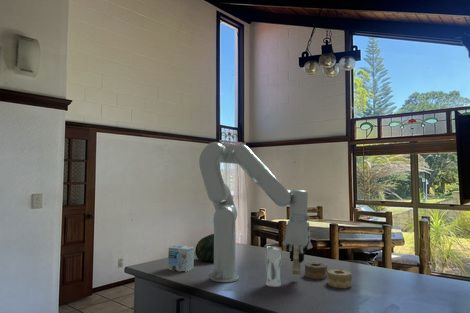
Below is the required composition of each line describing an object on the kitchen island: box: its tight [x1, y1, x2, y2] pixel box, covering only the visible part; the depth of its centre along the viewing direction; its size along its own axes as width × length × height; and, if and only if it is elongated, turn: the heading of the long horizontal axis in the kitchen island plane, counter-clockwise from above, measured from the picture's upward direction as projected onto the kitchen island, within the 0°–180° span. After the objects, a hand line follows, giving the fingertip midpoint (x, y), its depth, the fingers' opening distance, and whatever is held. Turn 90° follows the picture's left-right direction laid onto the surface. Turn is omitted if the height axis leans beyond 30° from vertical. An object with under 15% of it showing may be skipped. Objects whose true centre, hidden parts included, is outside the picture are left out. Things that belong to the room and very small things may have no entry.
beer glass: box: [264, 245, 283, 288], centre depth 140 cm, size 7×7×15 cm
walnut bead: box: [304, 262, 328, 280], centre depth 153 cm, size 9×9×5 cm
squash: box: [194, 233, 214, 262], centre depth 183 cm, size 14×15×15 cm
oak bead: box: [327, 268, 352, 289], centre depth 141 cm, size 9×9×5 cm
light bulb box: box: [167, 244, 195, 273], centre depth 164 cm, size 11×7×11 cm, turn 68°
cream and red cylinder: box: [292, 245, 301, 275], centre depth 147 cm, size 3×3×14 cm
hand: (296, 261), depth 146 cm, fingers closed on cream and red cylinder, 3 cm apart
